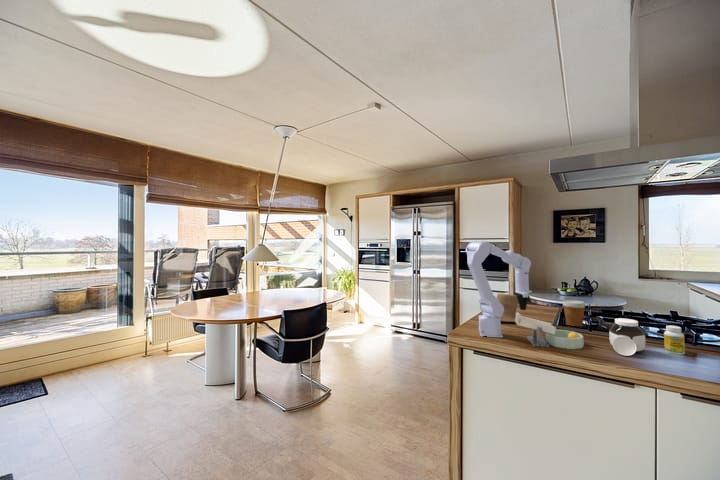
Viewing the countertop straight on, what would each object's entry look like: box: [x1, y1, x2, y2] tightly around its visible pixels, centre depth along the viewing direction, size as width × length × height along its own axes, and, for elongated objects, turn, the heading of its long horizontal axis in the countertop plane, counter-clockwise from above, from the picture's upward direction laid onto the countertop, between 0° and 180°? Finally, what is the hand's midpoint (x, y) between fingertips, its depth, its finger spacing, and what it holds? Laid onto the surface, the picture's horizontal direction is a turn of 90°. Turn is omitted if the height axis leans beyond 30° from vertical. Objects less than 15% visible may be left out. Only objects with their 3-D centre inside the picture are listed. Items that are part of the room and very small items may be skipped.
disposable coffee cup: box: [561, 299, 586, 327], centre depth 152 cm, size 10×10×12 cm
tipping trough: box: [514, 312, 557, 334], centre depth 135 cm, size 14×15×4 cm
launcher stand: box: [526, 327, 551, 348], centre depth 131 cm, size 6×12×8 cm, turn 163°
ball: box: [568, 331, 579, 338], centre depth 127 cm, size 4×4×4 cm
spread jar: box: [608, 317, 646, 357], centre depth 117 cm, size 12×11×12 cm
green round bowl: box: [545, 329, 585, 350], centre depth 128 cm, size 13×13×4 cm
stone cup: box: [496, 293, 519, 323], centre depth 165 cm, size 15×12×15 cm
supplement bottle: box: [663, 324, 686, 356], centre depth 115 cm, size 5×5×10 cm
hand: (522, 309), depth 148 cm, fingers closed
